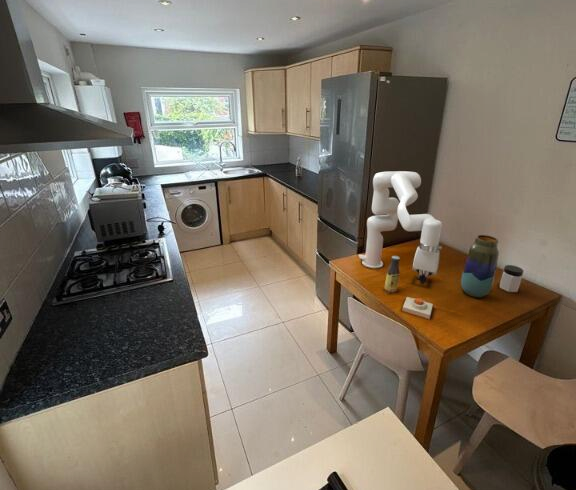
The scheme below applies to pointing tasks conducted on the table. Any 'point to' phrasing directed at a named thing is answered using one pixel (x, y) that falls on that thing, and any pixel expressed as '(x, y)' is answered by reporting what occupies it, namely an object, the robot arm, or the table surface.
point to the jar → (511, 278)
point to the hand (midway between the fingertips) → (422, 282)
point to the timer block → (417, 308)
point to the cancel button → (418, 301)
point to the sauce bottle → (392, 275)
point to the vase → (480, 266)
